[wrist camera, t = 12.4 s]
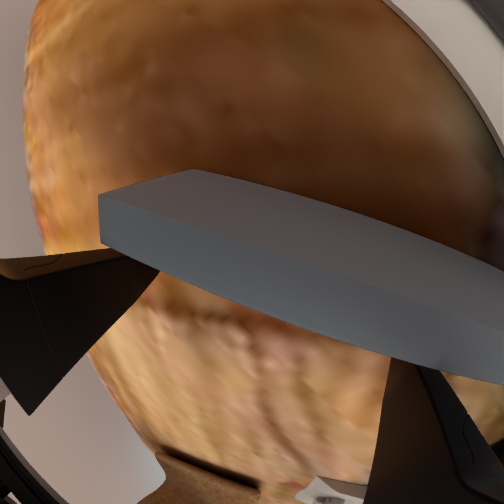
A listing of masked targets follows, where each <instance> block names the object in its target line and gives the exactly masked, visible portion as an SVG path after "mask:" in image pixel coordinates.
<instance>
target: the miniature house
mask: <svg viewBox="0 0 504 504" xmlns="http://www.w3.org/2000/svg"><path fill="white" fill-rule="evenodd" d="M366 490H367V486H362V485H356V484H351V483H346V482H341V481H336V480H332V479H328V478H324V477H320V476H316V477H315V479H314V480H313V481H312V482H311V483H310V484H309V485H308V487H307V488H306V489H304V490H301V491H300V492H298V493H297V494H296V496H295V498H296V499H297V500H299V501H301V502H303V503H306V504H363V501H364V497H365V493H366Z"/></svg>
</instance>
